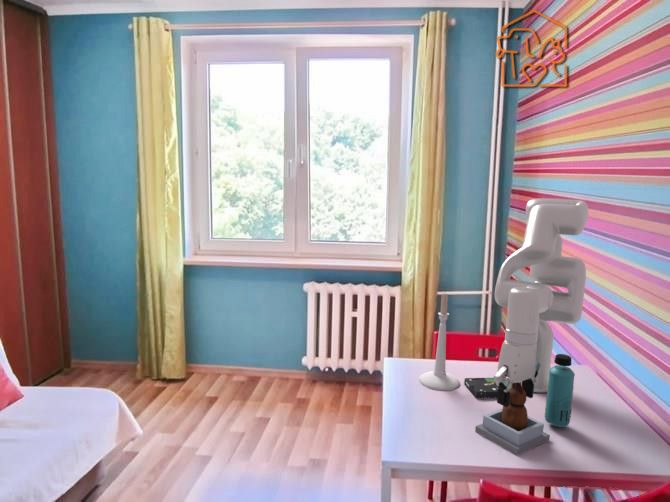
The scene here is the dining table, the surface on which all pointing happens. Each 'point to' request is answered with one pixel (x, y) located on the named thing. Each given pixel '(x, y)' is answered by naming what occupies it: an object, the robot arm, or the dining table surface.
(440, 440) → the dining table surface
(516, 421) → the wooden figurine
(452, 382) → the candlestick
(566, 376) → the beverage bottle
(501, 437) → the figurine dock
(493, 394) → the disk drive
